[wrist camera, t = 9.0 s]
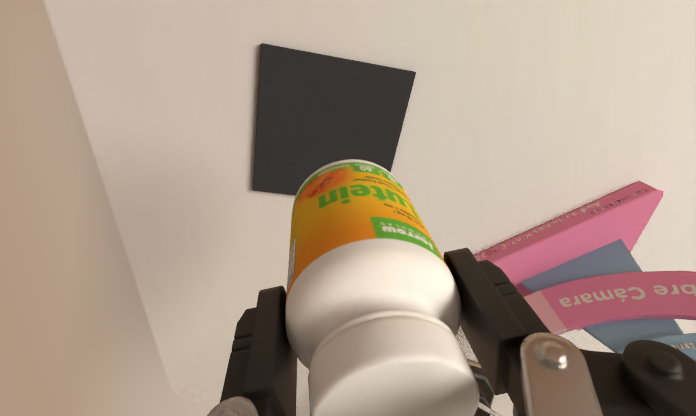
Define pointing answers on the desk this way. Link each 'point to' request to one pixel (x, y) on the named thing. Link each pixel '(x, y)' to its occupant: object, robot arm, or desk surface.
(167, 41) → the desk surface
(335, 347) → the supplement bottle
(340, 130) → the mat
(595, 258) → the trophy
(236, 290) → the desk surface
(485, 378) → the lantern
